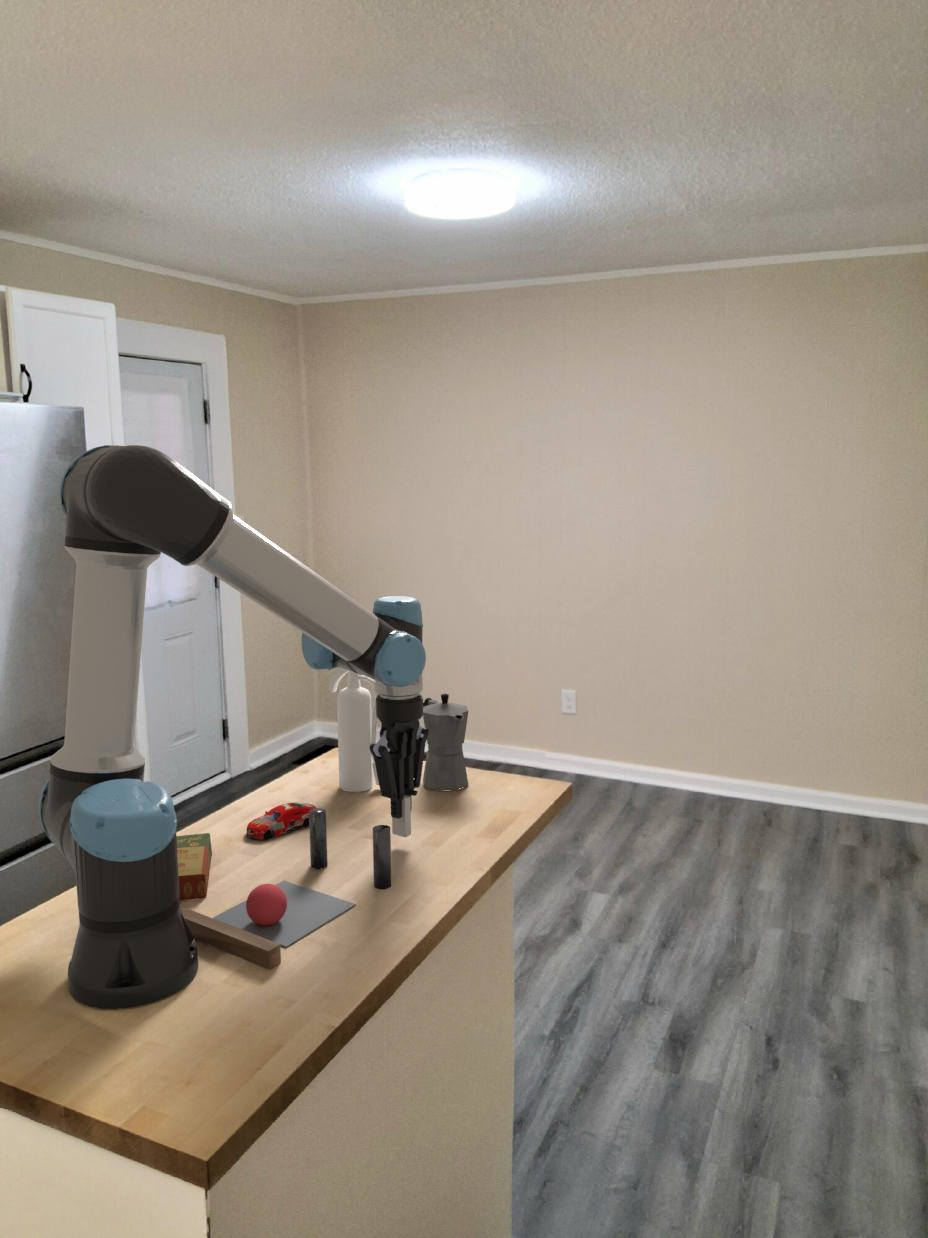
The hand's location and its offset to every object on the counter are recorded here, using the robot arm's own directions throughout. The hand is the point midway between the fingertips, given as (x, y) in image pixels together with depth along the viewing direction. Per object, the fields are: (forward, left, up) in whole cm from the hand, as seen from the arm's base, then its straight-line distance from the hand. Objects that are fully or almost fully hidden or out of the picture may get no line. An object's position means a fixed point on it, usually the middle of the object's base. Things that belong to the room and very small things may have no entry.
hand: (401, 834), depth 154 cm
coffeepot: (+29, +12, -2) cm, 31 cm away
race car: (-5, +22, -3) cm, 23 cm away
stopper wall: (-38, 0, -2) cm, 38 cm away
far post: (-13, +6, -2) cm, 15 cm away
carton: (-27, +21, -3) cm, 35 cm away
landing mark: (-27, 0, -2) cm, 27 cm away
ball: (-31, 0, +1) cm, 31 cm away
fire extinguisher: (+18, +24, -2) cm, 30 cm away
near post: (-13, -6, -2) cm, 15 cm away
